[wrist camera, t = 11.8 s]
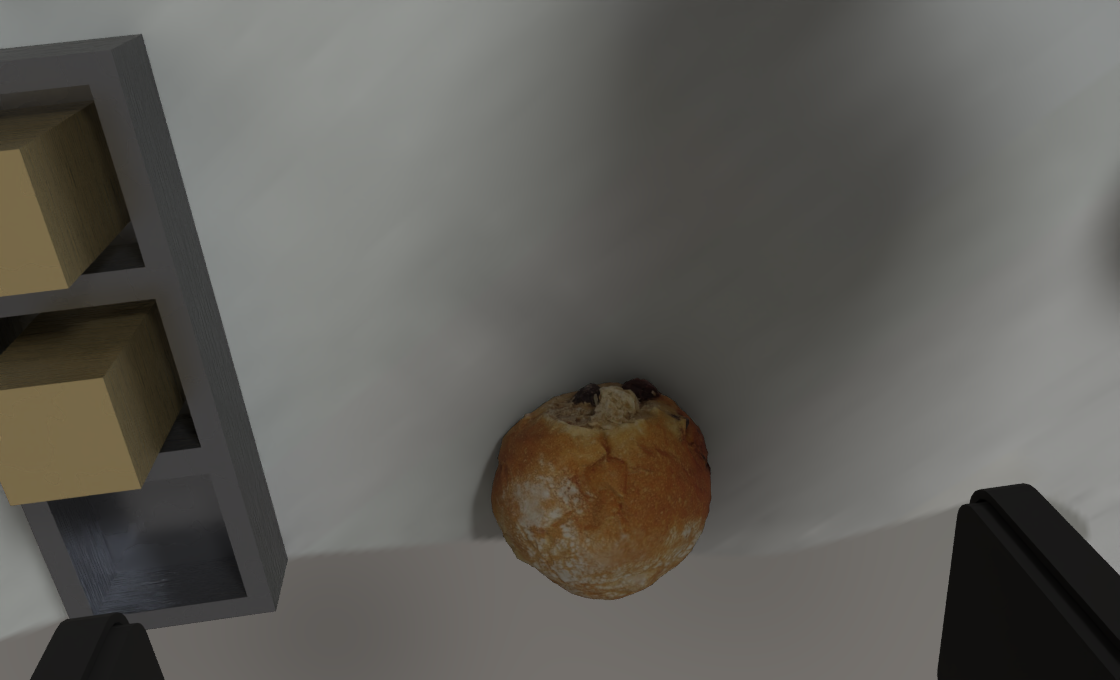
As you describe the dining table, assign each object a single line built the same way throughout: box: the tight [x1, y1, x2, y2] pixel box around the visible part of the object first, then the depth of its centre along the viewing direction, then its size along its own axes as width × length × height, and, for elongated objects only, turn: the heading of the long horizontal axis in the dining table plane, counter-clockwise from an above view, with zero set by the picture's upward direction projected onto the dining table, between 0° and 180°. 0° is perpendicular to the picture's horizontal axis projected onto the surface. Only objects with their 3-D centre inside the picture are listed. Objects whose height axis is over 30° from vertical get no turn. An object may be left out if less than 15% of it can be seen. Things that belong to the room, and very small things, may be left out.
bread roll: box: [491, 378, 711, 600], centre depth 42 cm, size 10×10×8 cm
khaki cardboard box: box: [0, 100, 131, 297], centre depth 32 cm, size 4×4×7 cm
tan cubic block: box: [0, 299, 186, 506], centre depth 35 cm, size 4×4×7 cm
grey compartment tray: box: [0, 34, 288, 630], centre depth 37 cm, size 24×8×4 cm, turn 5°
